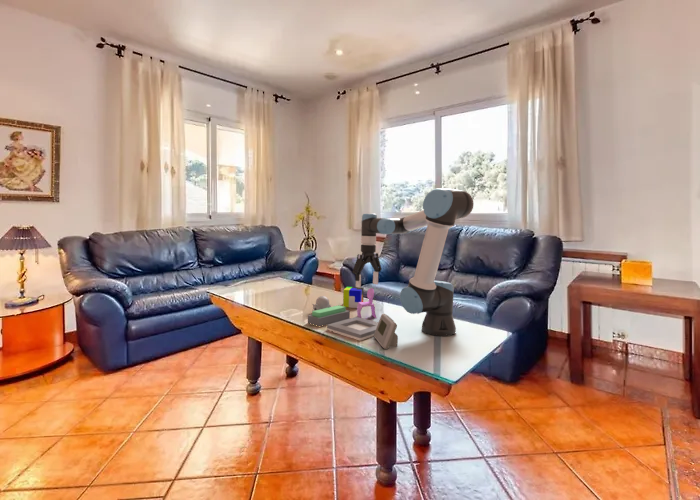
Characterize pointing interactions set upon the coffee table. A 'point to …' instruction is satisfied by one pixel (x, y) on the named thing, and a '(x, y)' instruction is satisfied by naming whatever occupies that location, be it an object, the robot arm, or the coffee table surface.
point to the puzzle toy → (352, 296)
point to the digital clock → (386, 332)
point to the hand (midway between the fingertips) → (367, 285)
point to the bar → (328, 311)
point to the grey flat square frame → (354, 328)
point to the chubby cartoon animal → (321, 303)
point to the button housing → (329, 318)
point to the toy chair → (367, 303)
